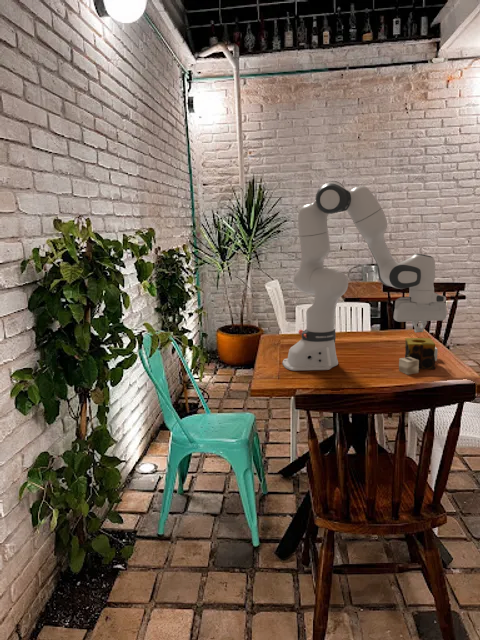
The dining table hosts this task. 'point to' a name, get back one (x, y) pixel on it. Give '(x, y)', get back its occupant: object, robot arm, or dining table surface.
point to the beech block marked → (408, 365)
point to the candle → (421, 351)
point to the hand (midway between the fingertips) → (418, 332)
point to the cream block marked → (435, 353)
